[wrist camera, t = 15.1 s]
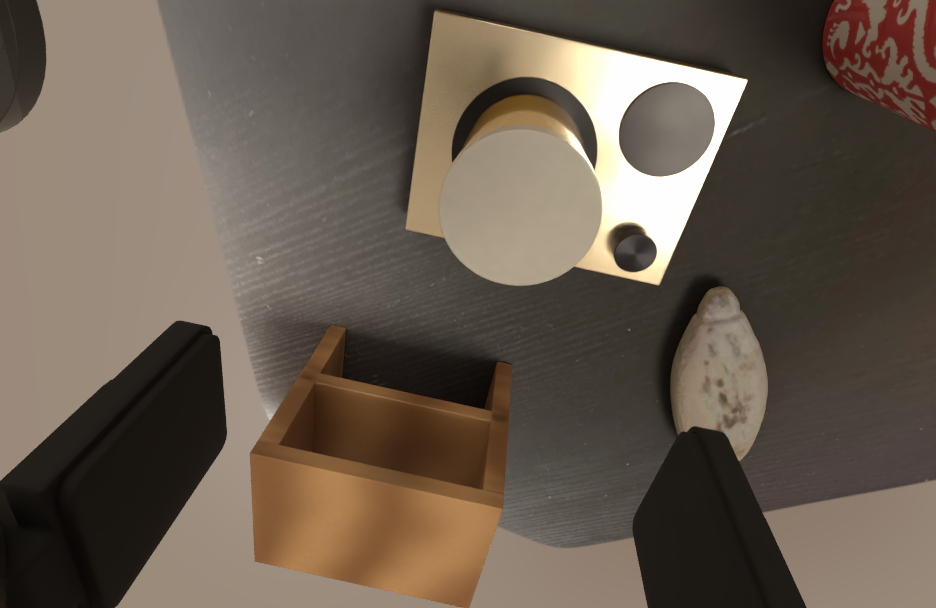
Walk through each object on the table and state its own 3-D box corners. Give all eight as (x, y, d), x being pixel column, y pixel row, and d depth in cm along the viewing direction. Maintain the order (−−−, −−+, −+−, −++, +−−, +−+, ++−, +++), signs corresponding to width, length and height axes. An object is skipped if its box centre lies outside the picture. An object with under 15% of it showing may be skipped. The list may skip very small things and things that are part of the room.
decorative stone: (759, 271, 33) (781, 298, 31) (754, 447, 41) (770, 482, 38) (660, 286, 35) (671, 313, 32) (671, 454, 42) (681, 488, 39)
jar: (455, 199, 31) (427, 267, 23) (476, 80, 27) (452, 112, 19) (565, 224, 30) (575, 300, 23) (601, 107, 27) (626, 150, 19)
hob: (412, 215, 34) (400, 238, 31) (441, 8, 28) (429, 10, 25) (651, 268, 34) (663, 296, 31) (733, 72, 28) (758, 82, 25)
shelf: (325, 420, 45) (254, 561, 33) (330, 324, 39) (249, 453, 28) (485, 456, 44) (468, 609, 33) (512, 364, 39) (502, 509, 28)
